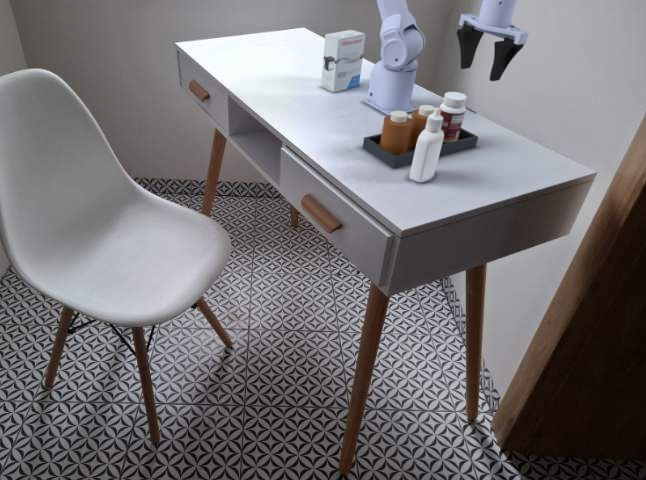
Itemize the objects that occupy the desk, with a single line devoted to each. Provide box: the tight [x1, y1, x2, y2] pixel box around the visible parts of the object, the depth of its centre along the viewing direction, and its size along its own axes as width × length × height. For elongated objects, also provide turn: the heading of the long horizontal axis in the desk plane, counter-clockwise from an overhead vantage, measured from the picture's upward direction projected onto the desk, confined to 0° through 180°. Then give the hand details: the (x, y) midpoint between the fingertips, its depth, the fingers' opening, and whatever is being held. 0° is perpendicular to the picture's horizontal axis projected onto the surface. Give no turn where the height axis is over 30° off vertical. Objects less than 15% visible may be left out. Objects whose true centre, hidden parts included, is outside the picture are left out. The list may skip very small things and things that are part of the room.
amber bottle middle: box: [408, 104, 436, 149], centre depth 95 cm, size 5×5×7 cm
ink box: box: [320, 29, 366, 93], centre depth 119 cm, size 8×5×12 cm, turn 128°
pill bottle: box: [439, 91, 468, 143], centre depth 97 cm, size 5×5×8 cm
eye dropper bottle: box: [408, 107, 444, 184], centre depth 85 cm, size 4×6×12 cm
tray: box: [362, 127, 479, 169], centre depth 97 cm, size 9×20×2 cm, turn 119°
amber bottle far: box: [380, 111, 413, 156], centre depth 93 cm, size 5×5×7 cm
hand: (479, 74), depth 100 cm, fingers open, 7 cm apart
